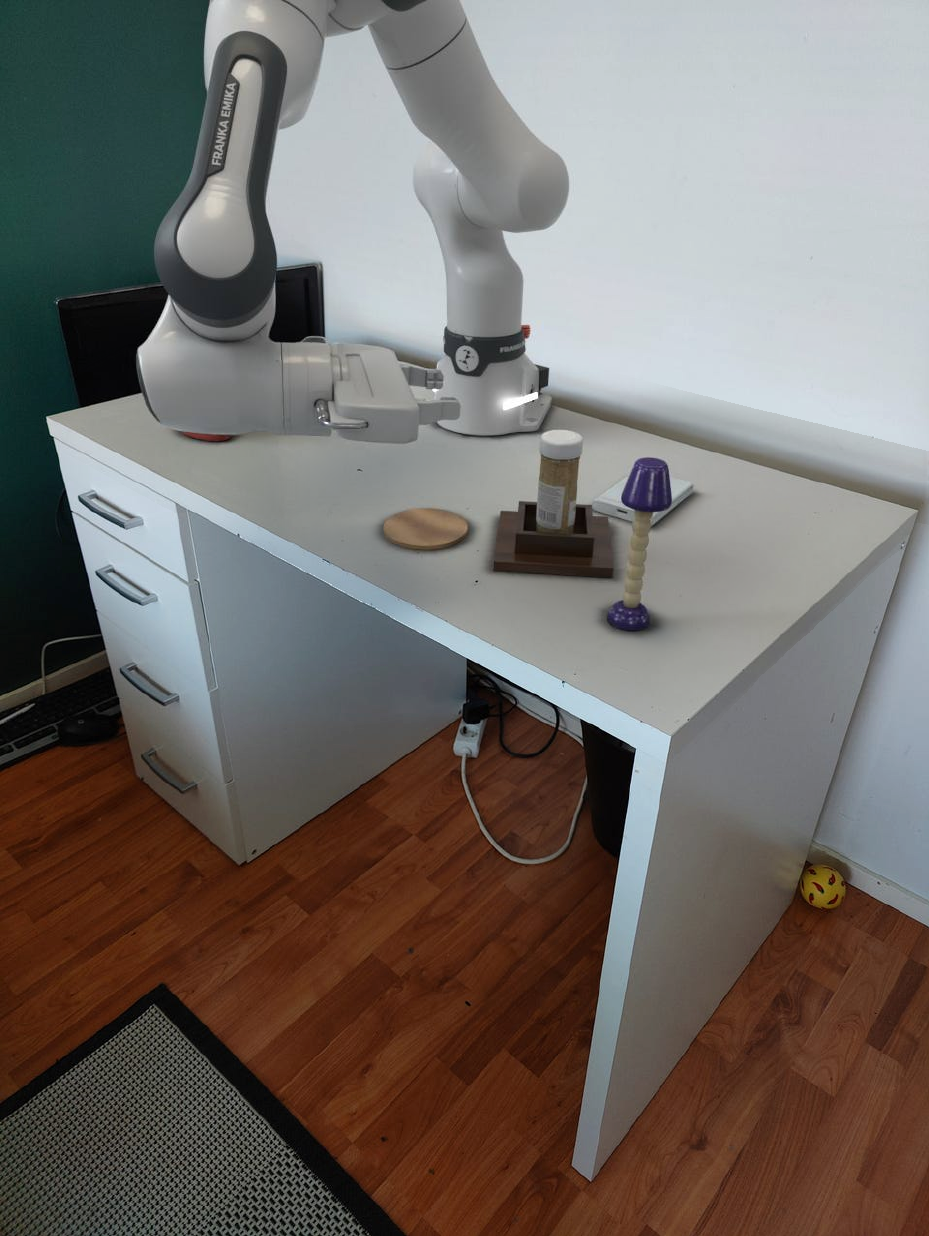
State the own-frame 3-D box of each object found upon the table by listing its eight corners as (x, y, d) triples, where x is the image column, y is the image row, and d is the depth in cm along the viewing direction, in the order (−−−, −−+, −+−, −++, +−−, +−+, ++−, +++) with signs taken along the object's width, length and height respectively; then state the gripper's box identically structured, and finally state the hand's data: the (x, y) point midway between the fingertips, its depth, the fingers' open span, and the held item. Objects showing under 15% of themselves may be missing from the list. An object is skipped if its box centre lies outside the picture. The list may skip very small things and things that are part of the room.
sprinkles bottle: (580, 549, 99) (592, 438, 92) (549, 559, 97) (558, 446, 90) (555, 534, 102) (565, 425, 95) (525, 543, 100) (532, 432, 93)
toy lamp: (602, 606, 89) (620, 452, 80) (646, 605, 89) (670, 452, 80) (611, 631, 84) (632, 472, 76) (658, 631, 85) (684, 472, 76)
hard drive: (637, 468, 116) (593, 498, 107) (694, 482, 112) (653, 515, 103) (635, 479, 117) (591, 510, 108) (692, 494, 113) (651, 527, 104)
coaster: (409, 506, 108) (408, 502, 108) (481, 522, 105) (481, 518, 104) (368, 538, 100) (367, 534, 100) (444, 557, 97) (444, 552, 97)
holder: (500, 519, 105) (501, 492, 104) (606, 525, 105) (610, 498, 103) (493, 570, 95) (494, 541, 93) (612, 577, 94) (616, 548, 92)
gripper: (318, 391, 75) (473, 395, 78) (308, 331, 92) (436, 336, 94) (318, 460, 78) (467, 461, 81) (308, 389, 95) (432, 392, 98)
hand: (450, 393), depth 88 cm, fingers open, 8 cm apart
